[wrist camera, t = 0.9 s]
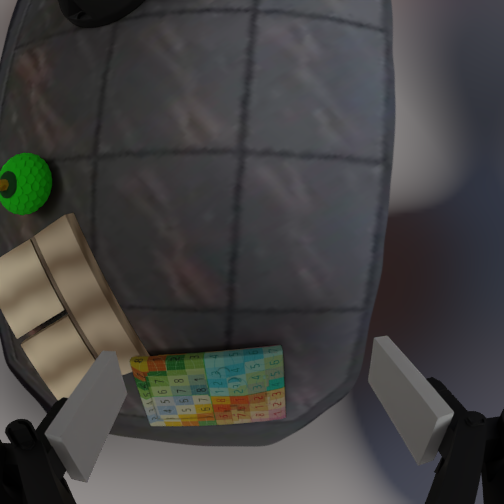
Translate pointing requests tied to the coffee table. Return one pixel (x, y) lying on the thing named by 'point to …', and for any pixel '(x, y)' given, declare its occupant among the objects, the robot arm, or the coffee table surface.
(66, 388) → the plank
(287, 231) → the coffee table surface
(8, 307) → the plank
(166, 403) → the puzzle game
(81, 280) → the laid board
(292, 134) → the coffee table surface
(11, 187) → the ornament
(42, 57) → the coffee table surface
